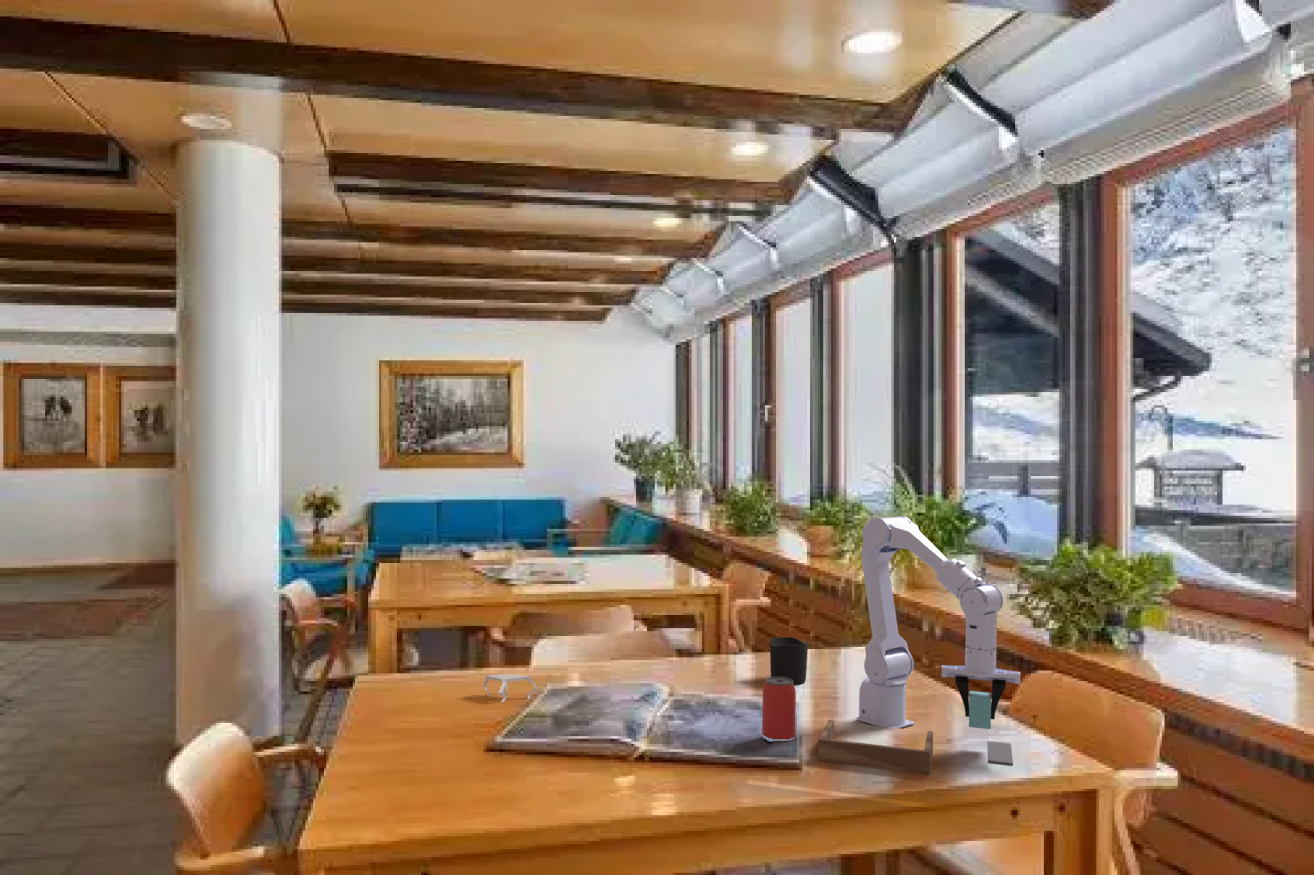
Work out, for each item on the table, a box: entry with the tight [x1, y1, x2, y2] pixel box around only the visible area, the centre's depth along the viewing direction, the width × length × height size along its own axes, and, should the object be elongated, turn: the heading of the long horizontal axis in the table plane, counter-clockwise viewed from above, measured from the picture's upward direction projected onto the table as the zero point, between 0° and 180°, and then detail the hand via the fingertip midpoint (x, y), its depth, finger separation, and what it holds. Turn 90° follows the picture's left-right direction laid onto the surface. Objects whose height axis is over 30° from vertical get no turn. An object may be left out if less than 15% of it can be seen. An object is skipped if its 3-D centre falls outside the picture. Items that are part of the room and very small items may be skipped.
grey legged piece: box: [483, 673, 538, 703], centre depth 218 cm, size 12×8×5 cm
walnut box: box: [817, 719, 934, 775], centre depth 180 cm, size 13×20×4 cm, turn 71°
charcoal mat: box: [986, 740, 1014, 766], centre depth 186 cm, size 12×12×1 cm
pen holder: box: [769, 636, 809, 686], centre depth 237 cm, size 9×9×10 cm
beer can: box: [761, 676, 797, 739], centre depth 191 cm, size 7×7×12 cm
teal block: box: [968, 690, 992, 730], centre depth 185 cm, size 4×4×6 cm
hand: (979, 716), depth 186 cm, fingers closed on teal block, 4 cm apart
